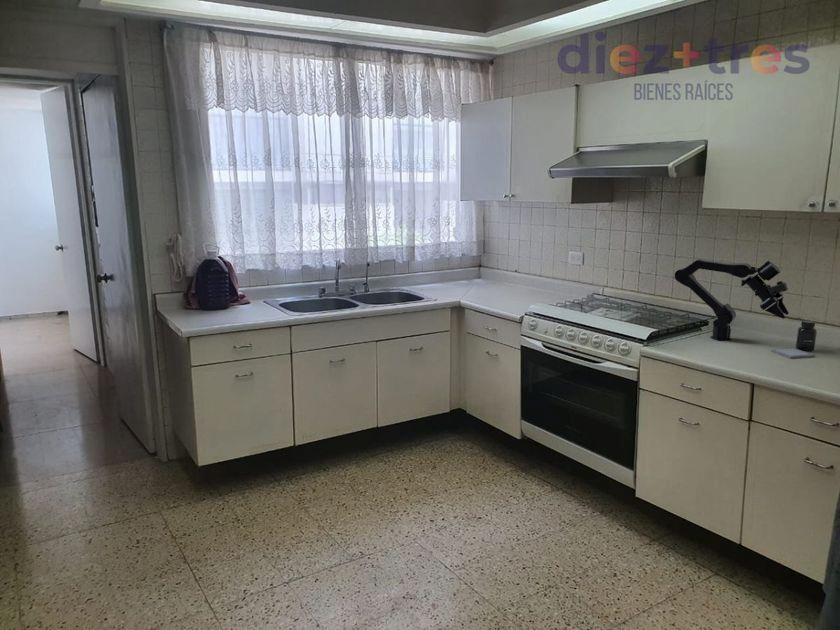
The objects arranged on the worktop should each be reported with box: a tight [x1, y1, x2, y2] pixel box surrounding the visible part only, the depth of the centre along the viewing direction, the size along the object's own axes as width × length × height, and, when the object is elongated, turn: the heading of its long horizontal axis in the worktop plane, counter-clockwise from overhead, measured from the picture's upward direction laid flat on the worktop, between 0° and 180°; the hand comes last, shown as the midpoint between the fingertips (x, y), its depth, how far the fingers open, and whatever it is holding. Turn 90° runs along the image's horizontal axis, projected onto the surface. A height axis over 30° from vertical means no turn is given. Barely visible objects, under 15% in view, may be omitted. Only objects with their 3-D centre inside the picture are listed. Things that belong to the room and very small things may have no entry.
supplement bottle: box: [795, 320, 818, 352], centre depth 259 cm, size 7×7×12 cm
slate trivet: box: [770, 347, 816, 360], centre depth 253 cm, size 11×11×1 cm
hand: (786, 316), depth 262 cm, fingers open, 9 cm apart
